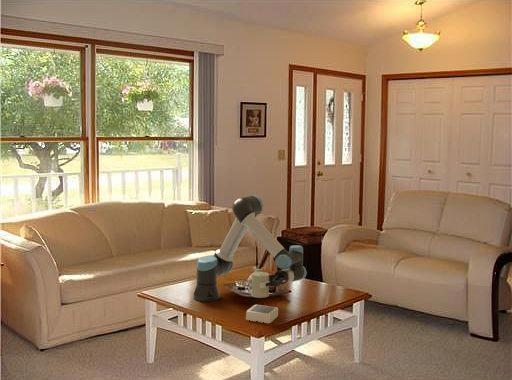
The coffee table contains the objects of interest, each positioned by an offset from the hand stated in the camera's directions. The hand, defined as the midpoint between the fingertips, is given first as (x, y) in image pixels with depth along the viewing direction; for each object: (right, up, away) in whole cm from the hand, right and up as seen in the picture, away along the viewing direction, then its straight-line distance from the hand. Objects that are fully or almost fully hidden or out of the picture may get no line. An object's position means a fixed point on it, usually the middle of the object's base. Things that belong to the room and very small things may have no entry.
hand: (254, 283), depth 325 cm
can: (+3, -7, +4) cm, 9 cm away
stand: (+4, -18, +3) cm, 19 cm away
